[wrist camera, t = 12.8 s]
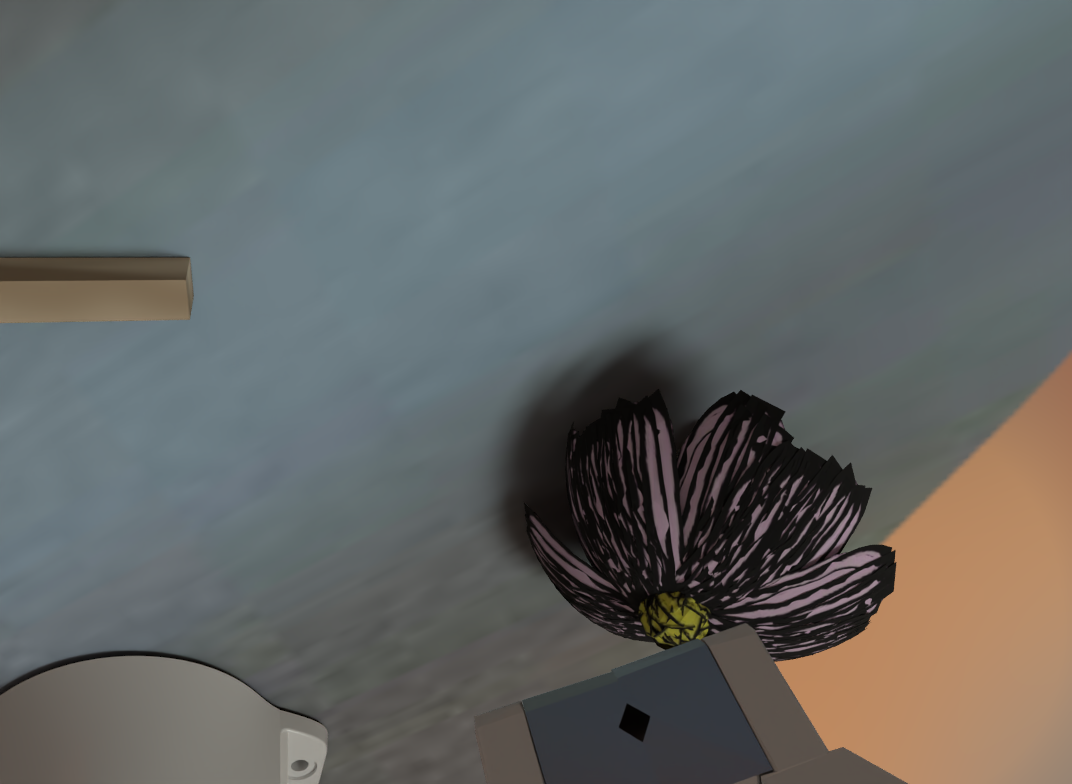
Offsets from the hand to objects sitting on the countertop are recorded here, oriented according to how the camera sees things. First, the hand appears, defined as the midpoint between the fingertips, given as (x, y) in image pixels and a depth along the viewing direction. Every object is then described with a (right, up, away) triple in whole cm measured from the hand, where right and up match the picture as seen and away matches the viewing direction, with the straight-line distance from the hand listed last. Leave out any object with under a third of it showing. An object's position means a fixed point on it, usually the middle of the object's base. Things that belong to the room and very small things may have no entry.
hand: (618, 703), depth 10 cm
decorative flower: (+5, 0, +34) cm, 34 cm away
